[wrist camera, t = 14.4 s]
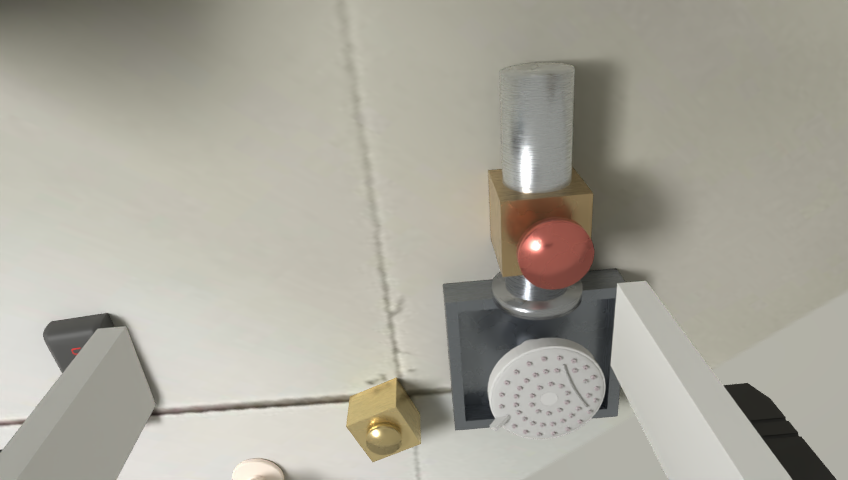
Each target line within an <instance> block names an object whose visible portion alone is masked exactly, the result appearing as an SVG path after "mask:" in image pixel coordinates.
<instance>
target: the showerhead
mask: <svg viewBox="0 0 848 480" xmlns="http://www.w3.org/2000/svg"><path fill="white" fill-rule="evenodd" d="M605 389H606V384H605V377H604V374H603V372H602V370H601V368H600V366H599V364H598V363H597V361H596V360H595V358H594V357H593V355H592V354H591V353H590V352H589V351H588V350H587V349H586V348H584V347H583V346H581V345H580V344H578V343H576V342H573V341H570V340H567V339H562V338H540V339H530V340H526V341H524V342H523V343H522V344H521V345H519V346H517V347H515V348H513V349H512V350H510V351H509V352H508V353H506V354H505V355H504V356H503V357H502V358H501V359H500V360H499V361H498V363H497V364H496V365H495V367H494V369H493V370H492V372H491V375H490V378H489V382H488V397H489V403H490V408H491V411H492V413H493V415H494V417H495V420H494V421H493V422H492V423H491V424H490V428H491V429H492V430H495V431H496V430H498V429H499V428H500V427H501V426H502V427H504V428H505V429H506V430H508V431H509V432H511V433H513V434H515V435H518V436H520V437H525V438H529V439H550V438H556V437H560V436H563V435H566V434H569V433H571V432H573V431H575V430H577V429H579V428H580V427H581V426H583V425H584V424H586V423H587V422H588V421H589V420H590V419H591V418H592V417H593V416H594V415H595V413H596V412H597V411H598V409H599V407H600V406H601V404H602V402H603V399H604V395H605Z"/></svg>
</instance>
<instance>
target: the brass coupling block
mask: <svg viewBox="0 0 848 480" xmlns="http://www.w3.org/2000/svg"><path fill="white" fill-rule="evenodd" d="M346 427H347V428H348V430H349V431H350V432H351V434H352V435H353V436H354V438H355V439H356V440H357V442H358V443H359V444H360V446H361V447H362V448H363V450H364V451H365V452H366V454H367V455H368V457H369V458H370V459H371V461H372V462H375V461H377V460H380V459H383V458H385V457H388V456H390V455H393V454H396V453H398V452H401V451H403V450H406V449H409V448H411V447H414V446H416V445H419V444H421V430H420V413H419V411H418V410H417V408H416V407H415V405H414V404H413V402H412V401H411V399H410V398H409V396H408V395H407V393H406V392H405V390H404V388H403V387H402V385H401V384H400V382H399V381H398V379H397V378H394V379H392V380H389V381H387V382H385V383H382V384H380V385H377V386H375V387H372V388H370V389H368V390H365V391H363V392H360V393H358V394H355V395H353V396H350V400H349V408H348V416H347V425H346Z"/></svg>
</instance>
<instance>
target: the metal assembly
mask: <svg viewBox="0 0 848 480" xmlns="http://www.w3.org/2000/svg"><path fill="white" fill-rule="evenodd" d="M574 77H575V67H574V66H572V65H569V64H564V63H550V62H543V63H528V64H520V65H514V66H510V67H506V68H504V69H502V70H500V107H501V144H502V169H497V170H488V178H489V204H490V230H491V241H492V244H493V247H494V251H495V254H496V257H497V261H498V264H499V267H500V271H501V272H499V273H498V274H497V275H496V276H495V277H494V279H493V280H483V281H472V282H461V283H450V284H443V293H444V305H445V317H446V329H447V341H448V353H449V365H450V377H451V389H452V401H453V412H454V421H455V430H466V429H477V428H489V427H490V424H491V423H492V422H493V421H494V420H495V417H494V415H493V413H492V411H491V408H490V403H489V397H488V382H489V378H490V375H491V372H492V370H493V369H494V367H495V365H496V364H497V363H498V361H499V360H500V359H501V358H502V357H503V356H504V355H505V354H506V353H508V352H509V351H510V350H512V349H513V348H515V347H517V346H519V345H521V344H522V343H523V342H524V341H526V340H530V339H540V338H562V339H567V340H570V341H573V342H576V343H578V344H580V345H581V346H583V347H584V348H586V349H587V350H588V351H589V352H590V353H591V354H592V355H593V357H594V358H595V360H596V361H597V363H598V364H599V366H600V368H601V370H602V372H603V374H604V377H605V384H606V389H605V395H604V399H603V402H602V404H601V406H600V407H599V409H598V411H597V412H596V413H595V415H594V416H593V417H592V418H603V417H615V416H618V404H619V392H620V383H619V381H618V379H617V377H616V375H615V373H614V371H613V369H612V367H611V353H612V341H613V329H614V317H615V306H616V294H617V283H626V282H625V281H624V279H623V278H622V276H621V275H620V273H619V272H618V270H617V269H606V270H595V271H589V269H590V267H591V265H592V263H593V259H594V246H593V243H592V240H591V228H592V207H593V193H592V191H591V190H590V189H589V187H588V186H587V185H586V184H585V182H584V181H583V180H582V178H581V177H580V176H579V175H578V173H577V172H576V171H575V169H574V168H573V167H572V145H573V111H574ZM592 418H591V419H592Z"/></svg>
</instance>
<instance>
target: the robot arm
mask: <svg viewBox="0 0 848 480" xmlns="http://www.w3.org/2000/svg"><path fill="white" fill-rule="evenodd" d="M611 367H612V369H613V371H614V373H615V375H616V377H617V379H618V381H619V383H620V385H621V387H622V389H623V391H624V393H625V395H626V397H627V399H628V401H629V403H630V405H631V407H632V409H633V411H634V413H635V415H636V417H637V419H638V421H639V423H640V425H641V427H642V429H643V431H644V433H645V435H646V437H647V439H648V441H649V443H650V445H651V447H652V449H653V450H654V453H655V455H656V457H657V459H658V461H659V463H660V465H661V466H662V469H663V470H664V472H665V474H666V476H667V478H668V480H836V478H835V477H834V476H833V475H832V474H831V472H830V471H829V470H828V469H827V467H826V466H825V465H824V464H823V463H822V461H821V460H820V459H819V458H818V457H817V455H816V454H815V453H814V452H813V450H812V449H811V448H810V447H809V445H808V444H807V443H806V442H805V441H804V439H803V438H802V437H799V436H798V432H797V431H796V430H795V429H794V427H793V426H792V425H791V423H790V422H789V421H786V419H785V416H784V415H783V414H782V412H781V411H780V410H779V409H778V408H777V406H776V405H775V404H774V403H773V401H772V400H771V399H770V398H769V397H767V396H766V395H764V394H763V393H761V392H760V391H758V390H757V389H755V388H754V387H752V386H751V385H750V384H748V383H744V384H734V385H722V383H721V382H720V380H719V379H718V378H717V376H716V375H715V374H714V372H713V371H712V370H711V368H710V367H709V366H708V364H707V363H706V361H705V360H704V359H703V357H702V356H701V355H700V353H699V352H698V351H697V349H696V348H695V347H694V345H693V344H692V342H691V341H690V340H689V338H688V337H687V336H686V334H685V333H684V332H683V330H682V329H681V327H680V326H679V325H678V323H677V322H676V321H675V319H674V318H673V317H672V315H671V314H670V313H669V311H668V310H667V308H666V307H665V306H664V304H663V303H662V302H661V300H660V299H659V298H658V296H657V295H656V294H655V292H654V291H653V289H652V288H651V287H650V285H649V284H648V283H647V281H637V282H626V283H617V294H616V306H615V317H614V329H613V341H612V353H611ZM155 405H156V404H155V401H154V399H153V396H152V393H151V391H150V388H149V385H148V383H147V380H146V377H145V375H144V372H143V369H142V367H141V364H140V362H139V359H138V356H137V354H136V351H135V348H134V346H133V343H132V340H131V338H130V335H129V332H128V330H127V327H126V326H122V327H111V328H100V329H97V330H96V331H95V333H94V334H93V335H92V336H91V338H90V339H89V340H88V341H87V343H86V344H85V345H84V347H83V348H82V349H81V350H80V352H79V353H78V354H77V355H76V357H75V358H74V359H73V361H72V362H71V363H70V364H69V366H68V367H67V368H66V370H65V371H64V372H63V373H62V375H61V376H60V377H59V378H58V380H57V381H56V382H55V384H54V385H53V386H52V387H51V389H50V390H49V391H48V392H47V394H46V395H45V396H44V398H43V399H42V400H41V401H40V403H39V404H38V405H37V407H36V408H35V409H34V410H33V412H32V413H31V414H30V415H29V417H28V418H27V419H26V421H25V422H24V423H23V424H22V426H21V427H20V428H19V429H18V431H17V432H16V433H15V435H14V436H13V437H12V438H11V440H10V441H9V442H8V443H7V445H6V446H5V447H4V449H3V450H0V480H116V479H117V478H118V476H119V474H120V472H121V470H122V468H123V466H124V464H125V462H126V460H127V459H128V457H129V455H130V453H131V451H132V449H133V447H134V445H135V443H136V442H137V440H138V438H139V436H140V434H141V432H142V430H143V428H144V426H145V424H146V423H147V421H148V419H149V417H150V415H151V413H152V411H153V409H154V407H155Z"/></svg>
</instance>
